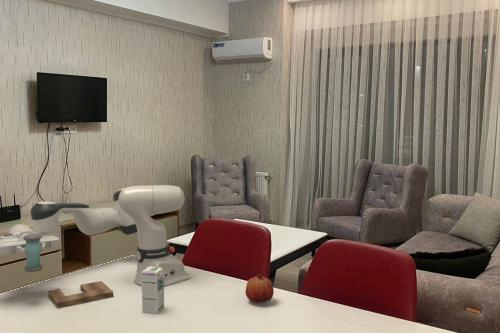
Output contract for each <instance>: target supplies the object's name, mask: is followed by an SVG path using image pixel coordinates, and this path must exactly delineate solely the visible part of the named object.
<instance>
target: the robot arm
mask: <svg viewBox="0 0 500 333" xmlns="http://www.w3.org/2000/svg"><path fill="white" fill-rule="evenodd" d="M112 197H113V198H112V199H113V202H114V207H115V209H114V208H112V207H98V208H93V209H92V208H91V207H90V205H89V204H85V203H80V202H79V203H77V202H52V201H49V200H48V201H39V202H36V203H34V205H33V206H32V207H31V209H30V211H29V212H30V217H31V226H32V227H29V226H28V225H26V224H23V223H18V224H14V225H13V226H11V227H10V229H9V231H8V233H7V234H5V235H1V236H0V257H4V256H12V255H17V254H18V255H20V254H21V255H26V254H27V252H26V251H27V249H26V240H24V236H25V235H29V234H41V236H42V238H41V239H40V253H42V252H45V251H47V250H54V249H58V248H59V249H60V247H61V240H60V225H59V218H60V217H59V216H60V214H61V213H62V214H63V213H68V214H69V213H70V214H71V215H72V216H73V218H74V221H75V224H76V226H77V228H78V230H79V231H80V232H81V233H82V234H85V235H86V236H87V235H88V236H95V235H99V234H102V233H106V232H107V231H110V230H113V229H114V228H118V229H117V231H118V232H121V233H122V234H124V235H127V236H137V242H138V244H137V245H138V246H137V248H136V249H137V250H136V260H137V267H136V274H135V277H134V283H135V284H137V285H140V286H142V276H141V272H142V271H144V270H145V269H147V268H148V267H162V268H163V279H164V287H167V286H170V285H173V284H177V283H180V282H185V281H187V280H190V279H191V274H190V273H189V272H188V271H186V270H185V266H184V263H183V261H182V260H180V259H178V257H176V256H175V255H173V254H172V253H174V252H175V251H176V250H175V249H176V248H175V247H174V246H170V245H167V228H166V226H165V225H164V223H162V222H160V221H158V220H157V219H153V216H155V215H159V214H160V215H161V214H166V213H172V212H175V211H180V210H181V209H182V207H183V206H184V203H185V194H184V191H183V189H182V188H181V187H180V186H176V185H172V184H171V185H169V184H158V185H157V184H149V185H147V184H146V185H131V186H128V187H122V188H120V189H118V190H117V191H115V192H114V194H113V195H112Z"/></svg>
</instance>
